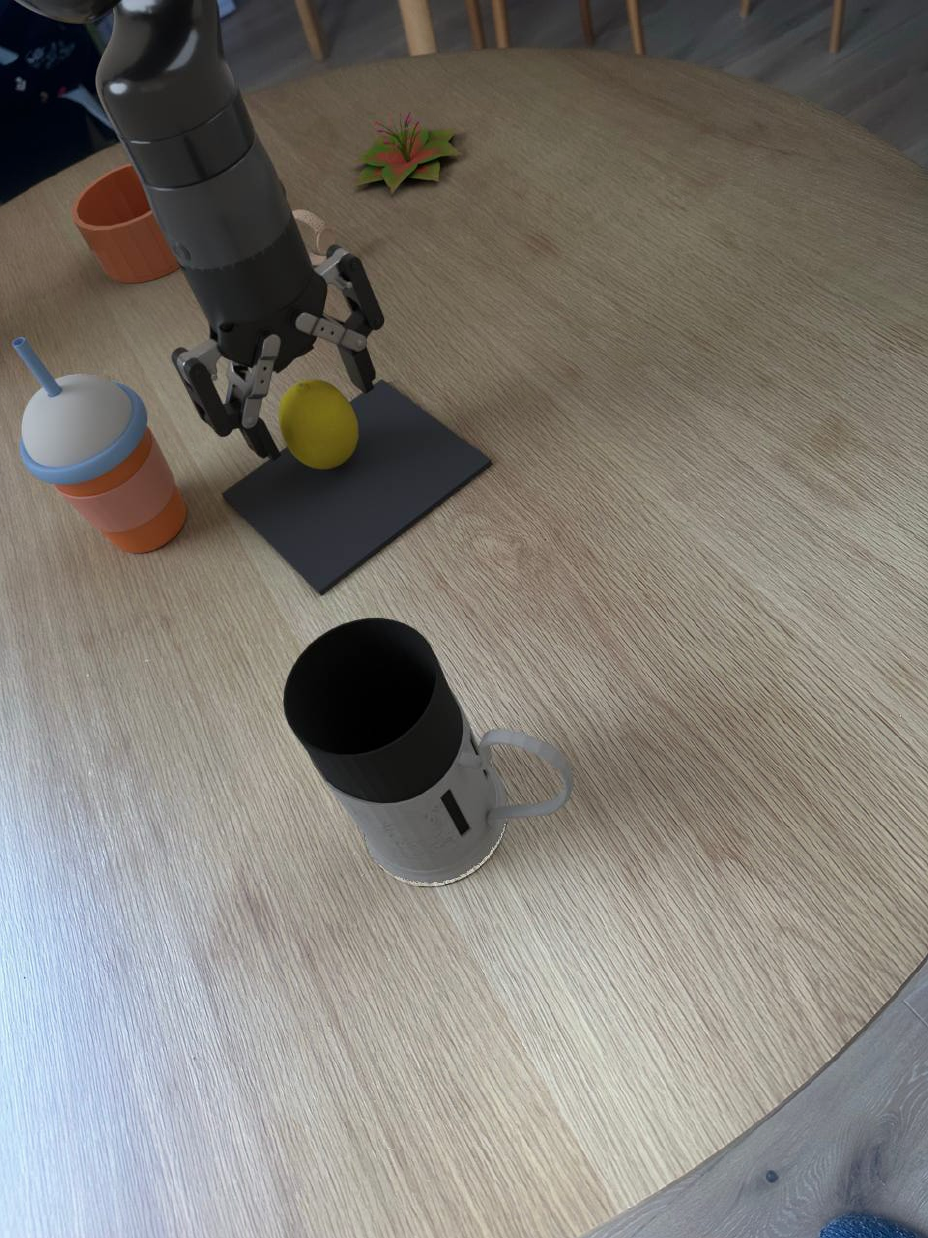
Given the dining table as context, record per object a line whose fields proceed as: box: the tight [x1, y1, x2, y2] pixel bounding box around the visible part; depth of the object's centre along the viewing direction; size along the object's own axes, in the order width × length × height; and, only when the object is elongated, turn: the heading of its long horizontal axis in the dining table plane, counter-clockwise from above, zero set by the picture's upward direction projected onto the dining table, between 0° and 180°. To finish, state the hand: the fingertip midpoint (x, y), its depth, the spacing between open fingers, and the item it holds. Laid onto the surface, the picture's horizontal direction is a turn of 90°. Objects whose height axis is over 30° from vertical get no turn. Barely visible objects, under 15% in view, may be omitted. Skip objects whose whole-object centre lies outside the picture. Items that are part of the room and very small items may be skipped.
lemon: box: [277, 378, 358, 469], centre depth 72 cm, size 6×6×8 cm
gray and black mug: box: [282, 617, 575, 884], centre depth 51 cm, size 9×14×15 cm, turn 67°
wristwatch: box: [291, 209, 337, 267], centre depth 90 cm, size 3×5×5 cm, turn 60°
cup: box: [70, 162, 181, 284], centre depth 97 cm, size 11×11×6 cm
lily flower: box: [352, 110, 463, 194], centre depth 96 cm, size 12×12×5 cm
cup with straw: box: [11, 336, 187, 554], centre depth 69 cm, size 9×9×18 cm
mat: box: [221, 378, 493, 596], centre depth 74 cm, size 16×14×1 cm
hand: (317, 420), depth 72 cm, fingers open, 8 cm apart
